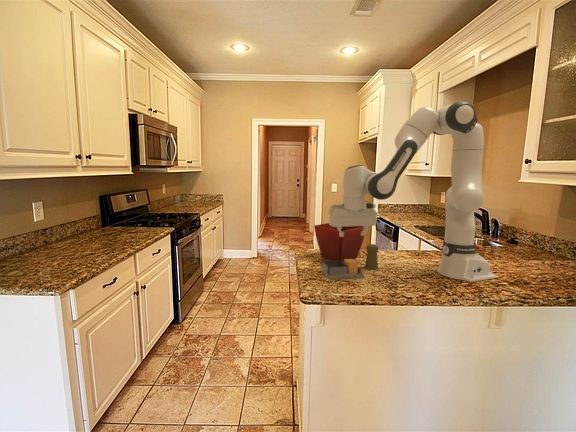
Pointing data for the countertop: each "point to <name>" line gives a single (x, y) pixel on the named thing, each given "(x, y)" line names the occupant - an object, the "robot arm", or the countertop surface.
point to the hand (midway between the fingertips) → (352, 236)
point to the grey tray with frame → (339, 270)
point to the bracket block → (351, 265)
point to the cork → (371, 257)
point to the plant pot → (339, 241)
